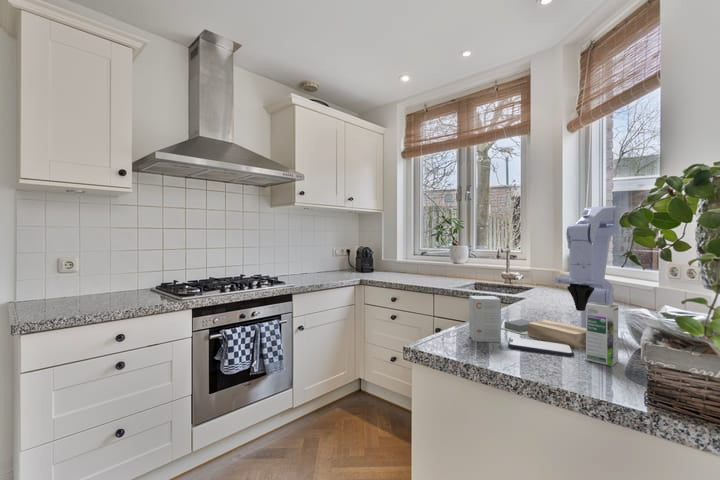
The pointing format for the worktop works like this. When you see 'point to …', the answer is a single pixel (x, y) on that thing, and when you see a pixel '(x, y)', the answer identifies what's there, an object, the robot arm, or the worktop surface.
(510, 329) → the mat
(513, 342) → the phone case
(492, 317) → the small box
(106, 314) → the worktop surface
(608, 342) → the syrup box
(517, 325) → the tile
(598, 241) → the robot arm
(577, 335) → the wooden block
